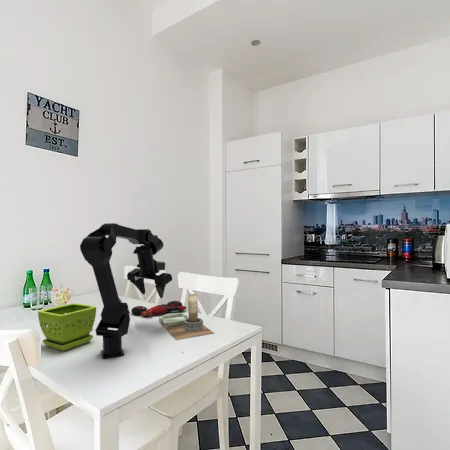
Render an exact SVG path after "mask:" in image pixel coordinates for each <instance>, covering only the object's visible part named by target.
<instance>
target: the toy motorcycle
mask: <svg viewBox="0 0 450 450" xmlns="http://www.w3.org/2000/svg"><path fill="white" fill-rule="evenodd" d="M185 310H187V307H186V306H185V305H183V303H182V302H181V301H180V300H179V301H178V300H172V301H168V302H167V304H166V303H164V304H162V303H161V304H158V305H154V306H152V307H150V308H148V307H147V306H142V305H137V306H134V307H133V308H132V309H131V311H130V313H132V314H133V315H135V316H144V317H145V316H146V317H153V316H163V315H164V314H166V312H167V313H168V312H182V311H185Z"/></svg>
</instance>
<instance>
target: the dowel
mask: <svg viewBox="0 0 450 450" xmlns="http://www.w3.org/2000/svg"><path fill="white" fill-rule="evenodd" d="M187 297H188V298H187V299H188V300H187V301H188V302H187V303H188V304H187V307H188V312H187V313H188V317H189V322H190V323H195V322H198V318H199V315H198V309H199V306H198V305H199V304H198V301H199V300H198V298H199V297H198V294H197V293H190V294H188V295H187Z"/></svg>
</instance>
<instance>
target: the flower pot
mask: <svg viewBox="0 0 450 450" xmlns="http://www.w3.org/2000/svg"><path fill="white" fill-rule="evenodd" d="M37 316H38V322H39V323H38V324H39V327H40V329H41V331H42V333H43V335H44V337H45V339H42V340H41V342H42V343H43V344H44V345H46V346H48V347H50V348H53V349H56V350H59V351H60V350H61V351H67V350H70V349H73V348H75V347H78V346H81V345H84V344H87V343H89V342H90V341H92V339H93V338H94V335H93V334H90V333H91V331H92V330H93V328H92V327H94V324H95V320H96V316H97V306H94V305H90V304H85V303H84V304H83V303H76V302H75V303H73V302H72V303H67V304H63V305H58V306H55V307H54V306H53V307H49V308H45V309H42V310H41V309H40V310H38V312H37ZM84 322H85V323H84ZM83 323H84V324H83Z"/></svg>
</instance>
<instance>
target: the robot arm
mask: <svg viewBox="0 0 450 450" xmlns="http://www.w3.org/2000/svg"><path fill="white" fill-rule="evenodd" d="M117 238H118V239H124V240H127V241H128V242H129V243H130V244H133V245H139V246H135V248H134V250H133V254H134V255H135V254H136V256H137V260H138V264H136V267H135V268H133V269H132V270H130V271H128V272H127V274H126V278H127V280H128V281H129V282H130V283H132V284H133V285H134V286H135V288H137V290H138V291H139V292H140V294H142V295H145V294H146V289H145V288H146V287H145V279H146V280H153V281H154V284H155V286H154V288H155V290H156V292H157V294H158V297H159V298H160V299H163V297H164V293H165V289H166V286H167V285H168V284H169V283H170V282H171V281H173V276H172V274H170V273H167V272H162V273H160V271H165V270H166V261H157V260H156V259H154V256H155V255H157V254H158V252H160V251H161V250H162V249H163V248H164V241H163V240H162V239H161V238H159V237H158V234H153V232H152V231H151V229H149V228H143V229H142V228H141V229H140V228H139V229H137V228H136V229H135V228H132V227H129V226H124V225H121V224H119V223H115V222H113V223H112V222H111V223H109V222H108V223H107V222H106V223H105V222H104V223H103V224H101V226H100V227H98V228H97V229H95V230H94V231H91V232H90V233H89V234H88V235H87V236H86V237H84V238H83V239H82V241H81V243H80V244H79V246H80V247H79V250H80V253H81V254H82V257H83V259H84V260H85V261H86V262H87V264H89V265H90V266H91V267H92V270H93V273H94V277H95V280H96V285H97V287H98V288H97V289H98V290H99V295H100V298H101V301H102V305H103V307H102V310H101V312H100V317H101V319H100V320H99V322H98V325H97V326H96V329H95V335H96V337H97V336H98V337H99V336H100V337H102V350H100V353H101V358H102V359H103V360H105V359H111V358H115V357H116V358H117V357H122V356H124V355H125V352H124V349H123V341H122V340H123V339H122V338H123V336H125V335H127V334H128V333H129V328H130V322H131V317H130V316H131V315H130V314H131V311H130V309H129V305H128V303H127V302H123V301H122V302H120V301H119V298H120V297H119V293H118V290H117V286H116V282H115V278H114V275H113V271H112V267H111V264H110V261H111V258H112V255H113V247H114V246H115V245H116V244H117ZM159 273H160V274H159ZM158 274H159V275H158Z"/></svg>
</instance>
